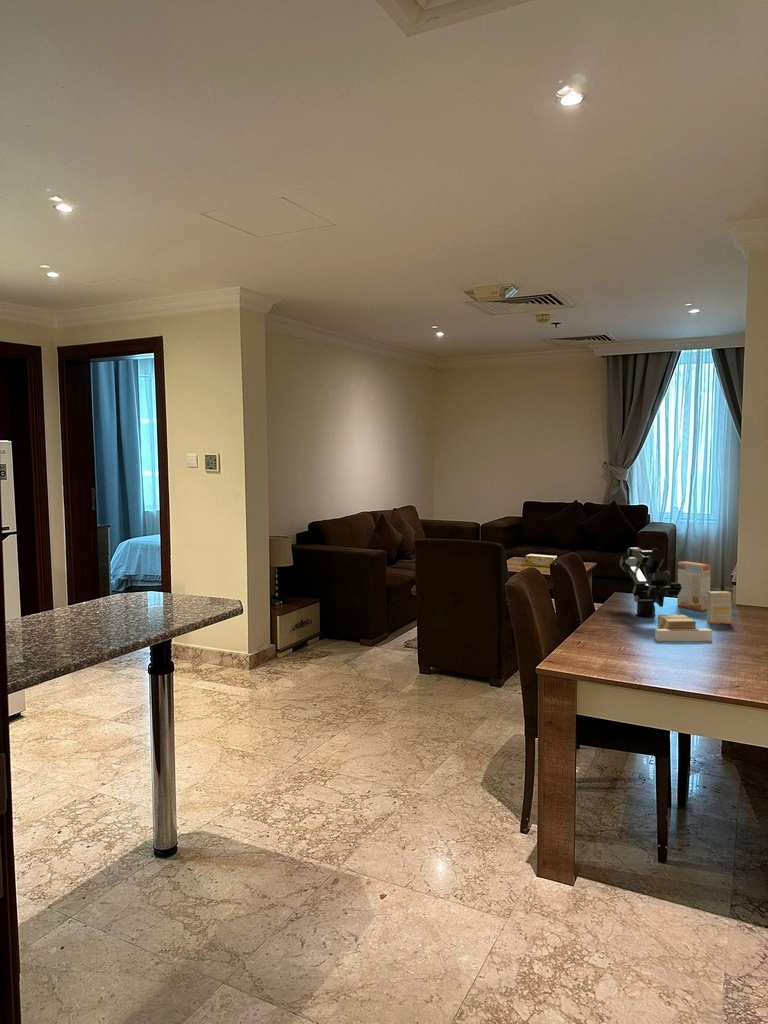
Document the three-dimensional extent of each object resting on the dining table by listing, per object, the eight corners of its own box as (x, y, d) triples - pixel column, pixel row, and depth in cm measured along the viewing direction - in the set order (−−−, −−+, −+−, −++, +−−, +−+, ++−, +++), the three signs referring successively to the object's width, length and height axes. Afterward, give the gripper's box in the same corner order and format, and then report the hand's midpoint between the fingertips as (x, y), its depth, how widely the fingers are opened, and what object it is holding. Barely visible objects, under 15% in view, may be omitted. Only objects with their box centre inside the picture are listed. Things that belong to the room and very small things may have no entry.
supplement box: (726, 621, 299) (727, 590, 298) (731, 624, 294) (731, 592, 293) (706, 621, 300) (706, 590, 299) (710, 624, 295) (711, 592, 294)
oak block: (657, 632, 283) (658, 614, 283) (683, 632, 283) (683, 614, 282) (668, 639, 271) (668, 621, 271) (695, 639, 271) (695, 621, 270)
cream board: (655, 639, 271) (655, 628, 271) (708, 638, 271) (708, 627, 270) (657, 641, 268) (658, 629, 268) (711, 640, 267) (712, 629, 267)
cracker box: (710, 610, 321) (711, 564, 320) (700, 611, 319) (701, 565, 317) (686, 605, 334) (687, 560, 333) (676, 606, 332) (677, 561, 330)
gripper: (635, 564, 296) (643, 595, 286) (680, 563, 295) (690, 595, 285) (628, 579, 304) (636, 610, 294) (673, 579, 304) (682, 610, 294)
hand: (661, 606), depth 292 cm, fingers closed
